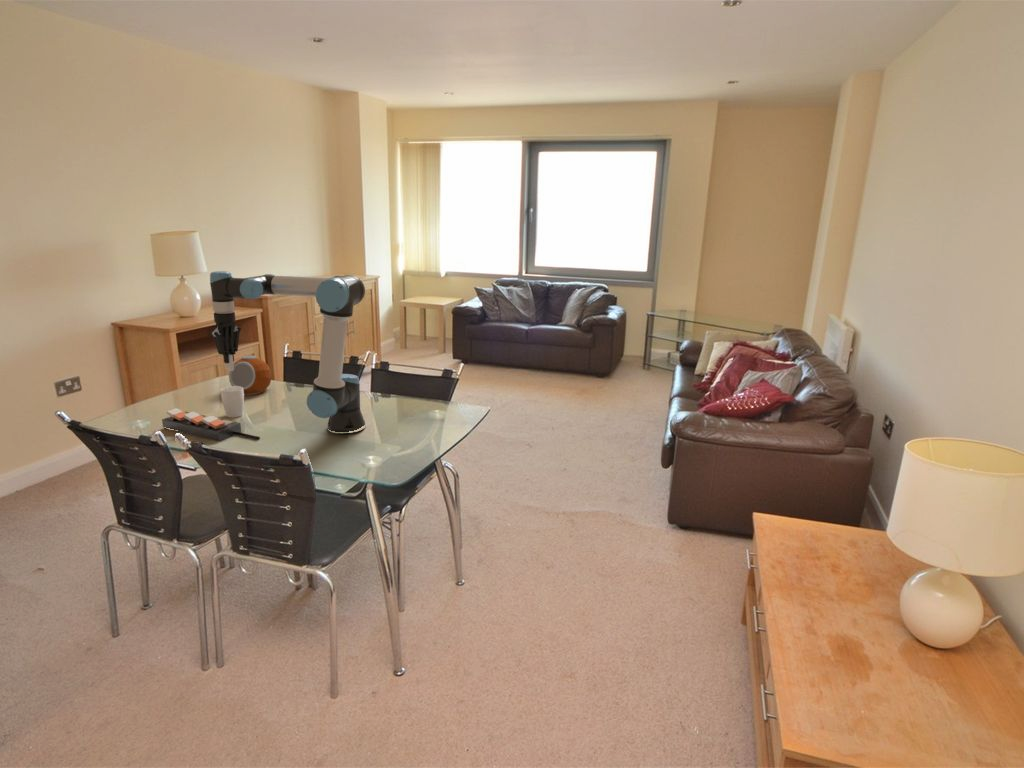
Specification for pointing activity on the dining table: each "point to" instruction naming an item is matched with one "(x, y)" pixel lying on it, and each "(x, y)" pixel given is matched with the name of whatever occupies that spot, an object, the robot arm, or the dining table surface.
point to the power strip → (206, 429)
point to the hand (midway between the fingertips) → (230, 370)
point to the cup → (233, 400)
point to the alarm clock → (251, 375)
